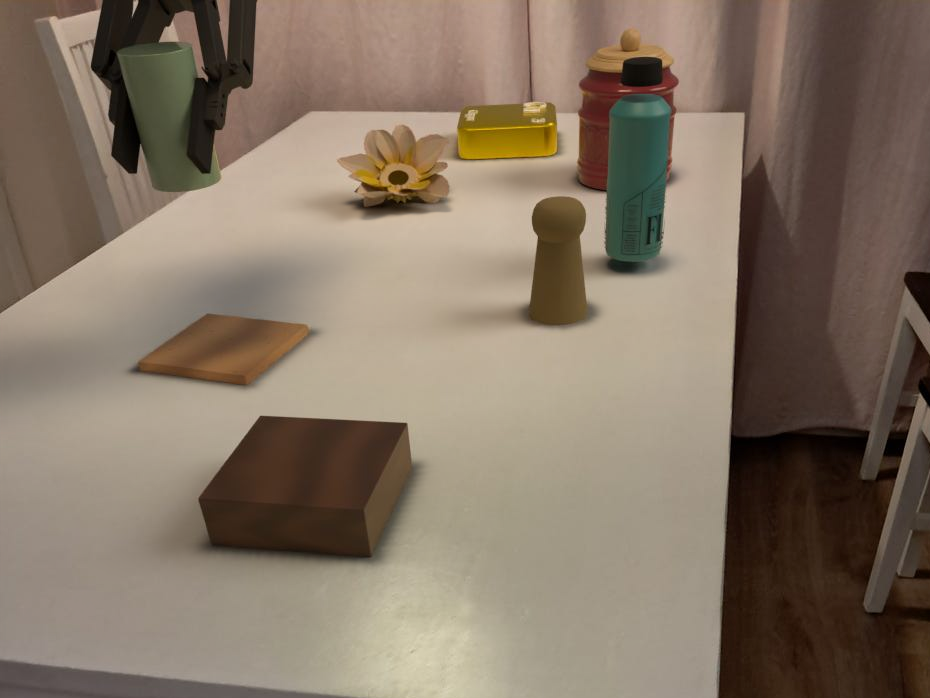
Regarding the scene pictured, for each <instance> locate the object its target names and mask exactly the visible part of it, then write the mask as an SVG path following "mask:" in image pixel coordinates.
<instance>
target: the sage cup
mask: <svg viewBox="0 0 930 698" xmlns="http://www.w3.org/2000/svg"><path fill="white" fill-rule="evenodd" d="M116 54H117V57H118V61H119V65H120V69H121V72H122V76H123V80H124V84H125V87H126V91H127V95H128V99H129V102H130V106H131V110H132V113H133V117H134V121H135V125H136V128H137V132H138V136H139V140H140V148H141V150H142V154H143V158H144V162H145V165H146V170H147V172H148V177H149V180H150V184H151V187H152V189H153V190H155V191H157V192H162V193H187V192H193V191H198V190H202V189H207V188H209V187H212V186H214V185H216V184H218V183H220V181H221V180H222V172H221V169H220V168H221V167H220V164H219V159H218V155H217V151H216V145H214V146H213V154H212V163H211V172H210V174H202V173H201V172H200V171H199V170H198V168H197V167H196V166H195V165H194V164H193V162H192V161H191V160H190V159H189V158H188V156H187V146H188V138H189V129H190V120H191V112H192V103H193V94H194V86H195V78H201V77H200V72H199V69H198V65H197V59H196V54H195V50H194V46H193V44H192V43H191V42H187V41H159V42H156V43H148V44H141V45H135V46H131V47H127V48H123V49H121V50H119V51H117V53H116Z"/></svg>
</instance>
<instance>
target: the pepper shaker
mask: <svg viewBox="0 0 930 698" xmlns="http://www.w3.org/2000/svg"><path fill="white" fill-rule="evenodd" d="M586 223H587V211H586V208H585V206H584V204H583V203H582V201H581V200H579V199H577V198H575V197H571V196H566V195H565V196H563V195H560V196H559V195H558V196H549V197H546V198H543V199H541V200H540V201H538V202H537V203H536V204H535V206H534V208H533V210H532V214H531V226H532V230H533V232H534V233H535V235H536V236H537V239H536V248H535V249H536V250H535V258H534V267H533V275H532V284H531V292H530V300H529V308H528V316H529V318H530V319H531V320H532V321H534V322H536V323H539V324H542V325H548V326H566V325H572V324H575V323H578V322H580V321H582V320H584V319H585V318H586V317H587V316H588V304H587V303H588V302H587V293H586V283H585V275H584V273H585V271H584V263H583V254H582V242H581V235H582V233H583V232H584V231H585V228H586V227H585V226H586Z"/></svg>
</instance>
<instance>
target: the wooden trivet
mask: <svg viewBox="0 0 930 698" xmlns="http://www.w3.org/2000/svg"><path fill="white" fill-rule="evenodd" d="M309 334H310V331H309V325H308V324H306V323H297V322H289V321H287V322H286V321H279V320H271V319H270V320H269V319H263V318H262V319H261V318H253V317H245V316H244V317H243V316H234V315H227V314H217V313H210V312H207V313H206V314H204V315H203V316H201V317H200V318H199V319H197V320H196V321H194V322H193V323H191V324H189V325H188V326H187V327H186V328H184V329H183V330H181V331H180V332H178V333H177V334H175V335H174V336H173V337H171V338H169V339H168V340H167V341H165V342H164V343H162V344H161V345H159V346H158V347H156V349H154V350H152V351H151V352H150V353H148V354H146V355H145V356H143V357H142V358H141V359H140V360H138V361H137V363H138V366H139V370H140V371H141V372H148V373H156V374H161V375H170V376H177V377H182V378H184V377H185V378H191V379H199V380H205V381H213V382H220V383H226V384H234V385H242V386H248V385H249V384H251V383H252V382H253V381H254V380H255V379H257V378H258V377H259V376H260V375H261V374H263V373H264V372H265V371H266V370H267V369H269V368H270V367H271V366H272V365H273V364H275V362H277V361H278V360H279V359H281V357H283V356H284V355H285V354H286V353H288V352H289V351H290V350H291V349H292V348H294V347H295V346H296V345H297V344H299V343H300V342H301V341H302V340H303V339H304V338H306V337H307V336H308V335H309Z"/></svg>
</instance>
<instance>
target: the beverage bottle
mask: <svg viewBox="0 0 930 698" xmlns="http://www.w3.org/2000/svg"><path fill="white" fill-rule="evenodd" d="M662 81H663V74H662V60H661V59H660V58H656V57H634V58H629V59H626V60H625V61H624V62H623V67H622V75H621V84H622V85H624V86H629V87H649V86H655V85H659V84H661V83H662ZM670 115H671V108H670V106H669V105H668V104H667V102H666V101H665V100H664V99H663V98H662V97H661V96H659V95H654V94H632V95H626V96H623V97H621V98H620V99H619V100H618V101H617V102H616V103H615V104H614V105H613V107H612V108H611V109H610V112H609V117H610V125H609V155H608V175H607V176H608V178H607V190H606V191H605V192H606V193H605V194H606V196H605V197H606V198H605V201H604V203H605V204H604V205H605V207H604V209H605V210H604V214H605V221H604V224H605V225H604V226H603V227H604V233H603V234H604V235H603V238H604V240H603V244H604V250H605V253H606V255H607V256H608V257H609V258H611V259H614V260H617V261H621V262H643V261H648V260H652V259H654V258H656V257H658V256H659V255H660V253H661V250H662V248H663V246H662V245H663V244H664V241H663V240H664V234H665V229H664V224H665V222H666V221H665V219H664V218H665V211H666V209H665V208H666V206H665V204H666V202H667V200H666V199H667V197H666V196H667V195H666V191H667V181H666V175H667V165H669V164H667V161H668V145H669V143H668V141H669V126H670ZM669 150H670V148H669ZM605 186H606V185H605Z"/></svg>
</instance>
